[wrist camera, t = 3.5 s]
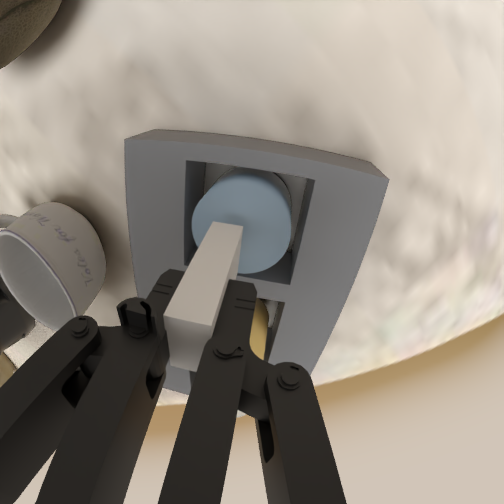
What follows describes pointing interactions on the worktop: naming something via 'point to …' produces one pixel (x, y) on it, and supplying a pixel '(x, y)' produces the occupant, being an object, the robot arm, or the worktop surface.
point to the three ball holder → (291, 264)
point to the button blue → (249, 215)
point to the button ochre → (259, 329)
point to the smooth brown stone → (23, 25)
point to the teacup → (51, 262)
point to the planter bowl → (5, 368)
